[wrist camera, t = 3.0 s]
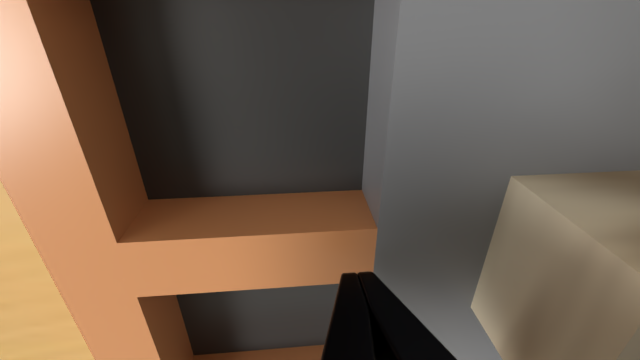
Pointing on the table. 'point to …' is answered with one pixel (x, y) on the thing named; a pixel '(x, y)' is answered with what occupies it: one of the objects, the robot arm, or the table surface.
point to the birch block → (564, 269)
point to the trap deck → (294, 155)
